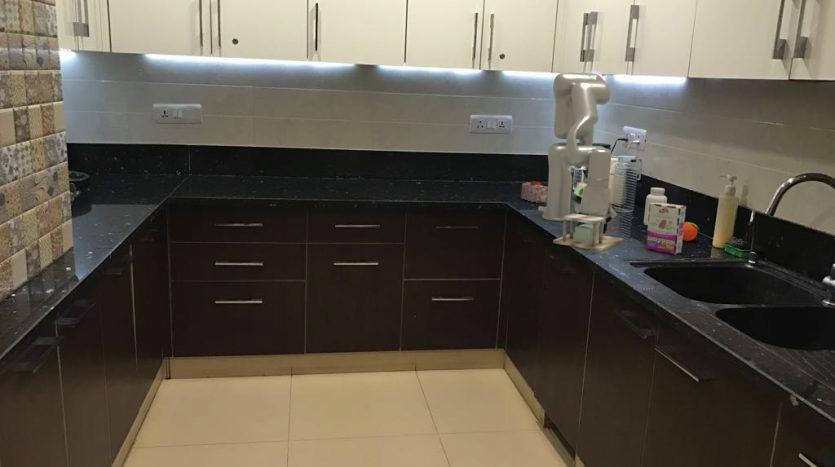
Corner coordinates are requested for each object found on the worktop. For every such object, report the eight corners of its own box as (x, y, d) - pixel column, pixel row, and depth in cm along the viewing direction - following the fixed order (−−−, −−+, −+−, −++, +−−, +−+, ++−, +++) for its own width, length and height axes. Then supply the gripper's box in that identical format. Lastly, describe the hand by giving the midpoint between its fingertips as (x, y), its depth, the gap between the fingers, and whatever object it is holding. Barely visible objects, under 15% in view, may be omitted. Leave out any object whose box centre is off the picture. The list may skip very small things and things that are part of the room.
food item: (549, 203, 326) (551, 182, 324) (536, 204, 322) (538, 183, 320) (531, 198, 338) (532, 178, 336) (518, 200, 334) (519, 179, 332)
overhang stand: (553, 242, 249) (555, 215, 247) (576, 233, 265) (578, 207, 262) (601, 251, 238) (604, 222, 236) (622, 241, 254) (625, 214, 252)
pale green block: (574, 240, 248) (575, 227, 247) (588, 234, 259) (590, 221, 257) (589, 243, 245) (590, 229, 244) (603, 237, 255) (604, 223, 254)
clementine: (702, 241, 257) (704, 222, 256) (693, 244, 253) (695, 225, 251) (681, 237, 263) (683, 219, 261) (672, 240, 258) (674, 221, 257)
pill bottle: (667, 227, 281) (671, 190, 277) (647, 226, 280) (651, 189, 277) (660, 223, 288) (663, 187, 285) (640, 222, 288) (644, 186, 285)
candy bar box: (681, 253, 239) (687, 205, 236) (675, 255, 236) (680, 207, 232) (651, 246, 247) (656, 201, 243) (644, 249, 244) (649, 202, 240)
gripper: (571, 181, 252) (567, 230, 256) (617, 187, 243) (612, 237, 247) (579, 179, 258) (575, 226, 262) (625, 184, 248) (620, 234, 252)
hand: (593, 231), depth 254 cm, fingers open, 6 cm apart
